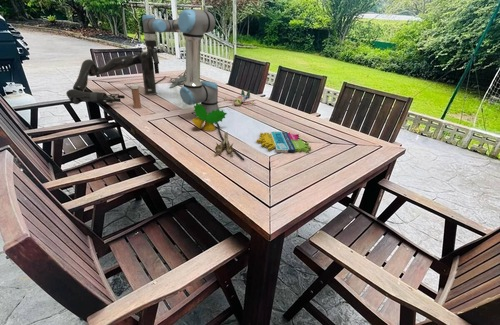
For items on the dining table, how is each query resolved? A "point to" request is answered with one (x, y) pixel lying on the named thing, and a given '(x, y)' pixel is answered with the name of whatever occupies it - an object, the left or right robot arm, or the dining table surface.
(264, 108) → the dining table surface
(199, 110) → the ornament
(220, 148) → the jawbone
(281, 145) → the sign
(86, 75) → the left robot arm
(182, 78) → the airplane
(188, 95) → the right robot arm
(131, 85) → the lid
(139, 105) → the jar
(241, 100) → the toy
